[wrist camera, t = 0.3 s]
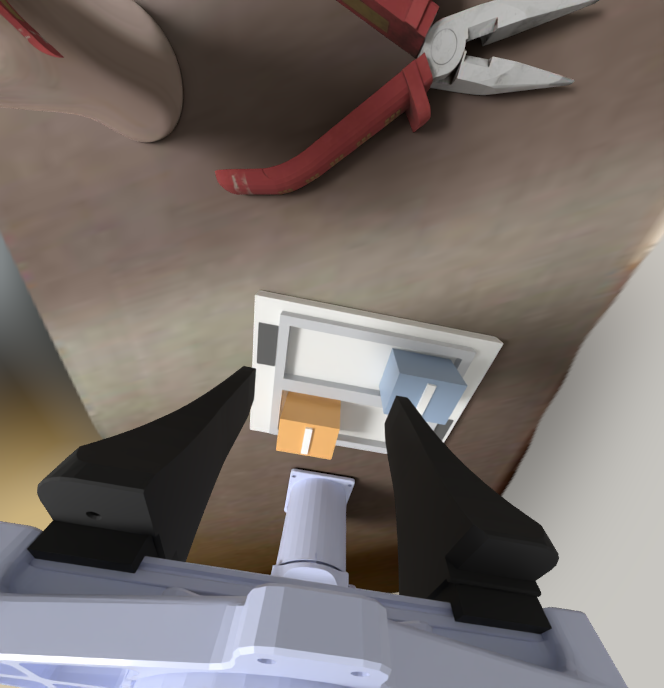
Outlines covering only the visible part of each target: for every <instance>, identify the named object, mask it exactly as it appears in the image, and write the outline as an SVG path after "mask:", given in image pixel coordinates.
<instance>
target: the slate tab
mask: <svg viewBox="0 0 664 688" xmlns="http://www.w3.org/2000/svg"><path fill="white" fill-rule="evenodd" d="M466 388H467V384H466V383H465V381H464V380H463V378H462V377H461V375H460V374H459V372H458V370H457V369H456V367H455V366H454V364H453V363H452V361H451V360H450V359H445V358H440V357H435V356H430V355H425V354H419V353H414V352H409V351H404V350H399V349H393V348H392V350H391V353H390V356H389V359H388V362H387V364H386V367H385V370H384V373H383V376H382V378H381V381H380V384H379V389H380V395H381V401H382V407H383V413H384V414H387V415H388V414H389V411H390V409H391V407H392V404H393V402H394V399H395V397H396V395H397V396H402V397H408V398H409V400H410V401H411V402H412V404H413V405H414V406H415V408H416V409H417V410H418V412H419V413H420V414H421V416H422V417H423V418H424V420H425V421H426V422H432V423H437V424H443V425H445V424H446V422H447V421H448V419H449V417H450V416H451V414H452V412H453V410H454V409H455V407H456V405H457V403H458V402H459V400H460V398H461V396H462V395H463V393H464V391H465V390H466Z"/></svg>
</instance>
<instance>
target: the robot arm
mask: <svg viewBox="0 0 664 688" xmlns="http://www.w3.org/2000/svg"><path fill="white" fill-rule="evenodd" d="M255 379H256V368H251V367H246V366H243V367H242V368H240V369H239V370H238V371H236V372H235V373H234V374H233V375H231V376H230V377H229V378H227V379H226V380H225V381H223V382H222V383H220V384H219V385H217V386H216V387H215V388H213V389H212V390H210V391H209V392H207V393H206V394H204V395H202V396H201V397H199V398H198V399H196V400H194V401H193V402H191V403H189V404H188V405H186V406H184V407H182V408H180V409H178V410H176V411H174V412H172V413H170V414H168V415H166V416H164V417H161V418H159V419H157V420H155V421H153V422H150V423H148V424H145V425H143V426H140V427H138V428H135V429H133V430H130V431H127V432H124V433H122V434H119V435H116V436H113V437H109V438H106V439H103V440H100V441H97V442H93V443H90V444H87V445H83V446H80V447H79V448H78V449H76V450H75V451H74V452H73V453H72V454H71V455H69V456H68V457H67V458H66V459H65V460H64V461H63V462H62V463H61V464H60V465H58V466H57V468H55V469H54V470H53V471H52V472H51V473H50V474H49V475H48V476H47V477H45V478H44V479H43V480H42V481H41V482H40V483H39V484H38V489H37V493H38V496H39V499H40V501H41V502H42V504H43V505H44V507H45V508H46V510H47V511H48V513H49V514H50V516H51V518H52V519H53V521H52V522H51V523H50V524H49V526H48V527H47V528H46V529H45V530H44V531H42V530H40V529H38V528H36V527H32V526H28V525H21V524H15V523H8V522H2V521H0V684H3V685H9V686H15V687H21V688H628V687H627V685H626V684H625V682H624V680H623V678H622V677H621V675H620V673H619V671H618V670H617V668H616V667H615V664H614V663H613V661H612V659H611V658H610V656H609V654H608V652H607V651H606V649H605V648H604V645H603V644H602V642H601V640H600V639H599V637H598V635H597V633H596V632H595V630H594V628H593V626H592V625H591V623H590V621H589V619H588V618H587V616H586V614H585V613H583V612H581V611H574V610H568V609H562V608H554V607H548V608H542V606H541V604H540V602H539V600H538V598H537V597H539V596H540V595H541V591H540V589H539V587H538V585H537V583H536V580H537V579H539V578H540V577H542V576H543V575H544V574H546V573H547V572H549V571H550V570H552V569H553V568H554V567H555V566H556V564H557V562H558V559H559V556H558V552H557V551H556V549H555V547H554V546H553V544H552V542H551V541H550V539H549V537H548V536H547V534H546V533H545V531H544V529H543V527H542V526H541V525H540V524H539V523H537V522H536V521H534V520H533V519H531V518H530V517H529V516H527V515H525V514H524V513H523V512H522V511H520V510H519V509H517V508H516V507H514V506H513V505H512V504H510V503H509V502H508V501H506V500H505V499H504V498H503V497H501V496H500V495H499V494H497V493H496V492H495V491H494V490H493V489H491V488H490V487H489V486H488V485H486V484H485V483H484V482H483V481H482V480H481V479H480V478H478V477H477V476H476V475H475V474H474V473H473V472H472V471H471V470H469V469H468V468H467V467H466V466H465V465H464V464H463V463H462V462H461V461H460V460H459V459H458V458H457V457H456V456H455V455H454V454H453V453H452V452H451V451H450V449H449V448H448V447H447V446H446V445H445V444H444V443H443V442H442V440H441V439H440V438H439V437H438V436H437V435H436V433H435V432H434V431H433V430H432V428H431V427H430V426H429V425H428V423H427V422H426V421H425V420H424V418H423V417H422V416H421V414H420V413H419V412H418V410H417V409H416V408H415V406H414V405H413V404H412V402H411V401H410V400H409V398H408V397H402V396H397V395H396V397H395V399H394V402H393V404H392V407H391V409H390V411H389V414H388V416H387V419H386V421H385V423H384V426H385V444H386V449H387V455H388V461H389V466H390V471H391V477H392V482H393V488H394V496H395V508H396V521H397V536H398V560H399V595H396V594H389V593H383V592H376V591H370V590H363V589H357V588H356V587H355V586H354V585H348V573H347V572H346V504H347V502H348V499H349V497H350V494H351V492H352V489H353V486H354V484H355V480H354V479H353V478H348V477H342V476H336V475H330V474H324V473H318V472H312V471H306V470H300V469H292V470H291V475H290V480H289V486H288V492H287V498H286V503H285V509H284V511H285V512H287V513H286V518H285V523H284V528H283V533H282V538H281V543H280V548H279V553H278V558H277V564H276V565H273V568H272V573H271V575H265V574H259V573H252V572H246V571H239V570H233V569H226V568H220V567H213V566H207V565H200V564H194V563H187V562H186V559H187V556H188V554H189V551H190V548H191V545H192V542H193V540H194V537H195V534H196V531H197V529H198V526H199V523H200V521H201V518H202V515H203V513H204V510H205V508H206V505H207V502H208V500H209V497H210V495H211V492H212V490H213V487H214V485H215V482H216V480H217V478H218V475H219V473H220V470H221V468H222V465H223V463H224V461H225V459H226V457H227V455H228V453H229V451H230V449H231V448H232V446H233V444H234V442H235V440H236V438H237V436H238V434H239V433H240V431H241V429H242V427H243V425H244V423H245V421H246V419H247V417H248V415H249V412H250V409H251V407H252V404H253V401H254V395H255Z"/></svg>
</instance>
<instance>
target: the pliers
mask: <svg viewBox="0 0 664 688" xmlns="http://www.w3.org/2000/svg"><path fill="white" fill-rule="evenodd" d="M336 1H338V2H339V3H340V4H342V5H343V6H345V7H346V8H347V9H349V10H350V11H351V12H353V13H354V14H355V15H357V16H358V17H360V18H361V19H362V20H364V21H365V22H366V23H368V24H369V25H370V26H372V27H373V28H375V29H376V30H377V31H379V32H380V33H381V34H383V35H384V36H385V37H387V38H388V39H389V40H391V41H392V42H394V43H395V44H396V45H398V46H399V47H401V48H402V49H403V50H405V51H406V52H408V53H409V54H410V55H412V56H413V57H414V58H416V56H417V59H416V60H413V61H412V62H411V63H410V64H409V65H407V66H406V67H405V68H404V69H403V70H402V71H401V72H400V73H398V74H397V75H396V76H395V77H394V78H392V79H391V80H390V81H389V82H387V83H386V84H385V85H384V86H383V87H381V88H380V89H379V90H378V91H377V92H375V93H374V94H373V95H372V96H370V97H369V98H368V99H367V100H366V101H364V102H363V103H362V104H361V105H359V106H358V107H357V108H356V109H355V110H353V111H352V112H351V113H350V114H348V115H347V116H346V117H345V118H344V119H342V120H341V121H340V122H339V123H338V124H336V125H335V126H334V127H333V128H331V129H330V130H329V131H328V132H327V133H325V134H324V135H323V136H322V137H320V138H319V139H318V140H317V141H316V142H314V143H313V144H312V145H311V146H310V147H308V148H307V149H306V150H305V151H303V152H302V153H300V154H299V155H297V156H296V157H294V158H292V159H291V160H289V161H287V162H285V163H282V164H280V165H277V166H273V167H269V168H263V169H225V170H216V171H215V173H216V177H217V180H218V182H219V184H220V185H221V186H222V187H223V188H224V189H225V190H227V191H229V192H230V193H233V194H285V193H289V192H292V191H295V190H297V189H299V188H301V187H303V186H305V185H307V184H308V183H310V182H312V181H313V180H315V179H317V178H318V177H320V176H321V175H322V174H324V173H325V172H326V171H328V170H329V169H330V168H331V167H333V166H334V165H335V164H337V163H338V162H339V161H341V160H342V159H343V158H345V157H346V156H347V155H348V154H350V153H351V152H352V151H354V150H355V149H356V148H358V147H359V146H360V145H362V144H363V143H364V142H365V141H367V140H368V139H369V138H371V137H372V136H373V135H375V134H376V133H377V132H379V131H380V130H381V129H382V128H384V127H385V126H386V125H388V124H389V123H390V122H392V121H393V120H394V119H396V118H397V117H398V116H399V115H401V114H402V113H403V112H406V115H407V118H408V120H409V123H410V126H411V128H412V131H413V132H415V131H416V130H418V129H419V128H420V127H422V126H423V125H424V124H425V123H426V122H427V121H428V120H429V119H430V116H431V110H430V105H429V101H428V98H427V95H426V93H427V92H428V90H429V88H435V89H441V90H447V91H452V92H459V93H466V94H475V95H490V94H498V93H507V92H515V91H523V90H532V89H540V88H548V87H557V86H565V85H570V84H572V83H573V82H574V79H571V78H567V77H564V76H561V75H558V74H554V73H551V72H548V71H545V70H542V69H538V68H535V67H532V66H529V65H526V64H522V63H519V62H516V61H511V60H506V59H502V58H497V57H493V56H492V57H491V58H490V59H489V60H488V59H483V58H478V57H473V56H468V55H466V52H467V51H464V49H465V44H466V42H467V41H470V40H472V39H475V38H478V37H480V38H481V41H482V46H485V45H487V44H490V43H493V42H496V41H499V40H502V39H504V38H507V37H510V36H512V35H515V34H518V33H520V32H523V31H525V30H528V29H530V28H533V27H536V26H538V25H541V24H543V23H546V22H548V21H551V20H554V19H556V18H559V17H561V16H564V15H566V14H569V13H572V12H574V11H577V10H579V9H582V8H584V7H587V6H589V5H592V4H595V3H596V2H597V1H599V0H494V1H491V2H487V3H484V4H481V5H478V6H475V7H472V8H469V9H466V10H464V11H461V12H458V13H456V14H453V15H450V16H447V17H445V18H442V19H440V20H438V21H437V22H436V23H435V24H434V25H432V23H433V21H434V19H435V17H436V14H437V11H438V9H439V6H438V5H437V4H436V3H434V2H433V1H432V0H336Z"/></svg>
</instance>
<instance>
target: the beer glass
mask: <svg viewBox="0 0 664 688" xmlns="http://www.w3.org/2000/svg"><path fill="white" fill-rule="evenodd" d="M182 104H183V85H182V78H181V73H180V69H179V65H178V62H177V59H176V57H175V54H174V52H173V49H172V47H171V45H170V43H169V41H168V40H167V38H166V36H165V35H164V33H163V32H162V30H161V29H160V27H159V26H158V24H157V23H156V22H155V21H154V19H153V18H152V17H151V16H150V15H149V14H148V13H147V12H146V11H145V10H144V9H143V8H142V7H140V6H139V5H138V4H137V3H135V2H134V1H133V0H0V107H1V108H12V109H23V110H36V111H49V112H60V113H68V114H76V115H80V116H84V117H87V118H90V119H93V120H95V121H97V122H99V123H101V124H103V125H104V126H106V127H108V128H110V129H111V130H113V131H115V132H117V133H119V134H121V135H123V136H125V137H127V138H129V139H132V140H135V141H139V142H154V141H158V140H161V139H163V138H165V137H166V136H167V135H169V134H170V133H171V132H172V131H173V129H174V128H175V126H176V124H177V123H178V120H179V118H180V114H181V110H182Z"/></svg>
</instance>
